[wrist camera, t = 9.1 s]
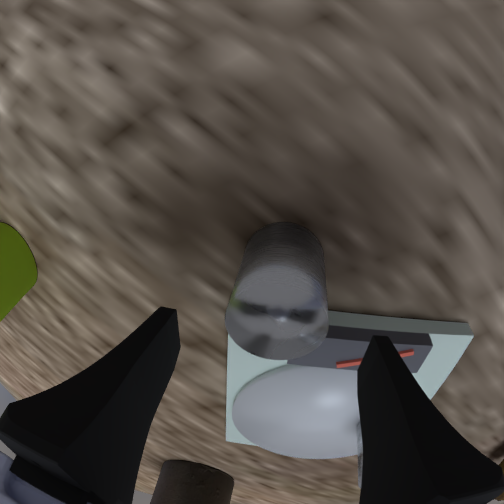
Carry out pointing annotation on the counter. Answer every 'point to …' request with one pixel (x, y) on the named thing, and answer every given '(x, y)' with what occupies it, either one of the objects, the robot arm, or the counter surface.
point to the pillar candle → (191, 484)
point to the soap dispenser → (14, 269)
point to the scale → (329, 383)
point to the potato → (500, 497)
